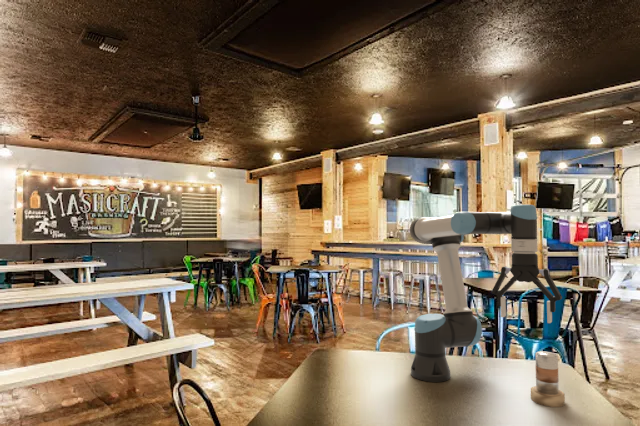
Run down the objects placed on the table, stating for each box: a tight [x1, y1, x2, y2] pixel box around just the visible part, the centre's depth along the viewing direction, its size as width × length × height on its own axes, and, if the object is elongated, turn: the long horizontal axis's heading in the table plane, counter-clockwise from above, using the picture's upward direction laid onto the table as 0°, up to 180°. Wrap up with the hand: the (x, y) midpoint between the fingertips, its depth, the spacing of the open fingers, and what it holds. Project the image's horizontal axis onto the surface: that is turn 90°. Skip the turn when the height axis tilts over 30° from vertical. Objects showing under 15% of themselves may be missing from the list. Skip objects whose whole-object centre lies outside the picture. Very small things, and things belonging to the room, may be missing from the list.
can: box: [535, 350, 560, 395], centre depth 139 cm, size 7×7×12 cm
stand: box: [530, 385, 566, 408], centre depth 139 cm, size 10×10×3 cm
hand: (525, 319), depth 132 cm, fingers open, 13 cm apart
